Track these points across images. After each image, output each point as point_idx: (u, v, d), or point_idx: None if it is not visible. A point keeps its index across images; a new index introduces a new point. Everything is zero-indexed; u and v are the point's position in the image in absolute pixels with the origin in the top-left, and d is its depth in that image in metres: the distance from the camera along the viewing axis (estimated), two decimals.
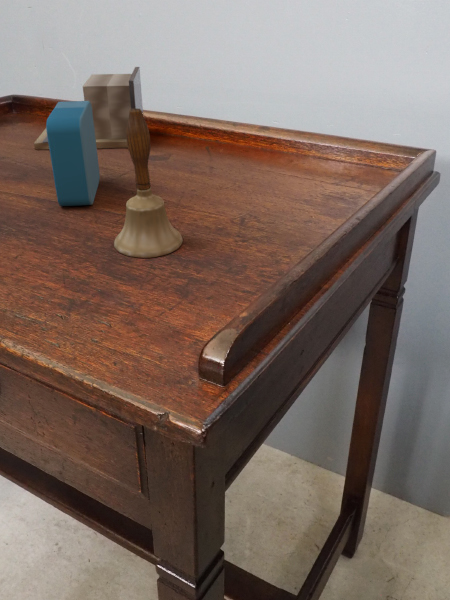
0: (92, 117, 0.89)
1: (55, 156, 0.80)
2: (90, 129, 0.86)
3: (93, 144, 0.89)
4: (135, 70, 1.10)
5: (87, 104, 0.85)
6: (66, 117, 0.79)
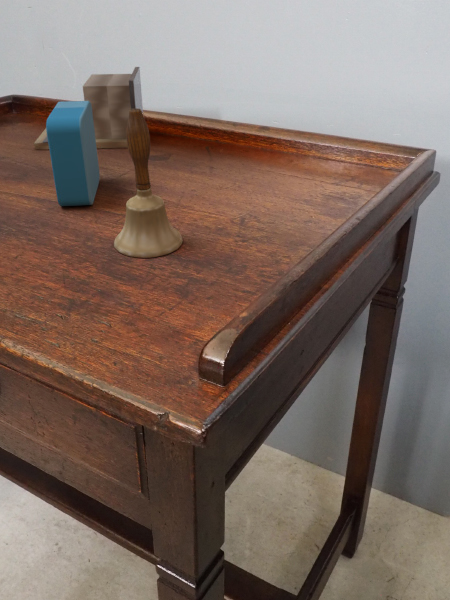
0: (92, 117, 0.89)
1: (55, 156, 0.80)
2: (90, 129, 0.86)
3: (93, 144, 0.89)
4: (135, 70, 1.10)
5: (87, 104, 0.85)
6: (66, 117, 0.79)
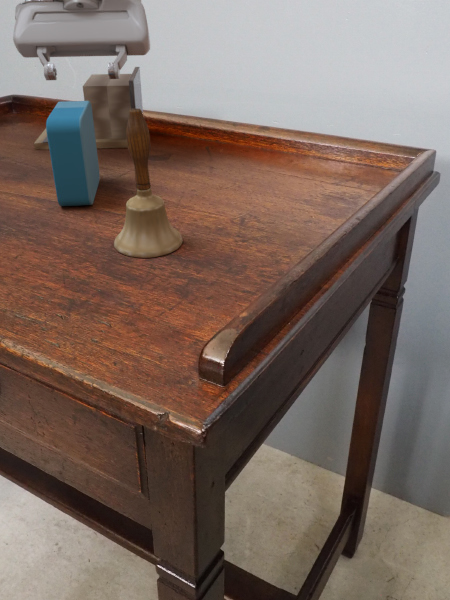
0: (92, 117, 0.89)
1: (55, 156, 0.80)
2: (90, 129, 0.86)
3: (93, 144, 0.88)
4: (135, 70, 1.10)
5: (87, 104, 0.85)
6: (66, 117, 0.79)
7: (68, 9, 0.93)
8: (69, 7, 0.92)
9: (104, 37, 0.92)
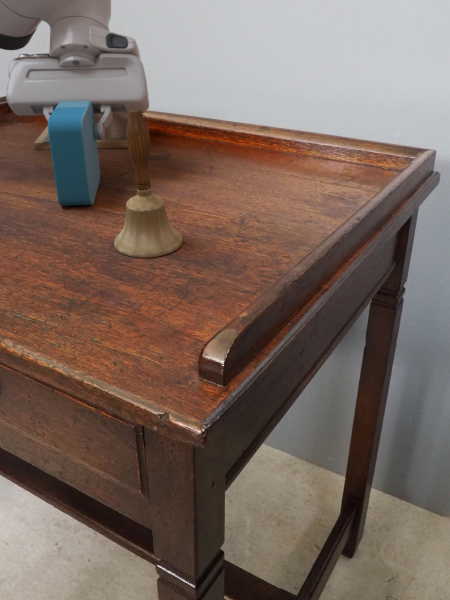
0: (93, 117, 0.89)
1: (56, 155, 0.80)
2: (91, 129, 0.86)
3: (94, 144, 0.89)
4: None
5: (89, 104, 0.85)
6: (68, 117, 0.79)
7: (64, 66, 0.89)
8: (65, 64, 0.88)
9: (101, 96, 0.88)
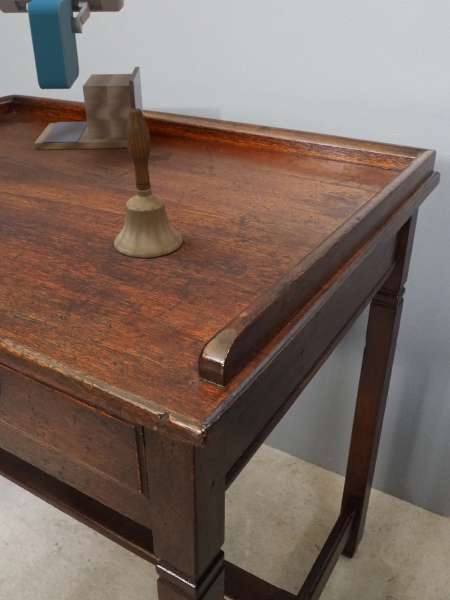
0: (72, 13, 0.97)
1: (35, 37, 0.88)
2: (69, 21, 0.95)
3: (72, 37, 0.97)
4: (135, 70, 1.10)
5: None
6: (46, 1, 0.88)
7: None
8: None
9: None
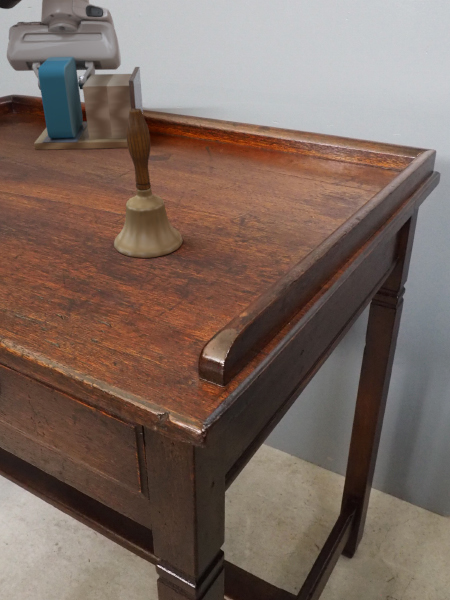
0: (76, 70, 1.12)
1: (45, 96, 1.03)
2: (74, 78, 1.09)
3: (76, 91, 1.12)
4: (135, 70, 1.10)
5: (71, 58, 1.09)
6: (54, 66, 1.03)
7: (52, 31, 1.12)
8: (53, 29, 1.12)
9: (82, 55, 1.11)
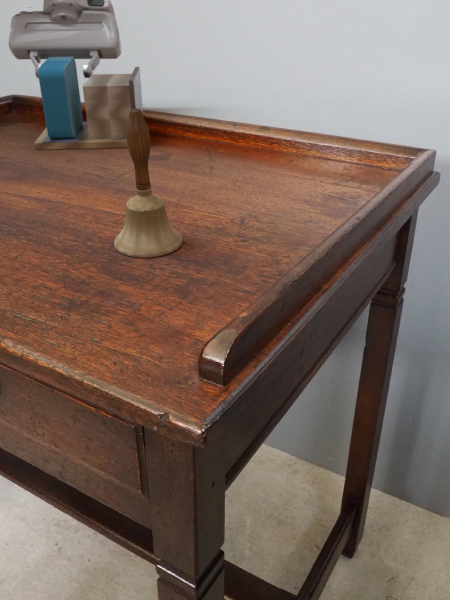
0: (76, 70, 1.12)
1: (45, 96, 1.03)
2: (74, 78, 1.09)
3: (76, 91, 1.12)
4: (135, 70, 1.10)
5: (71, 58, 1.09)
6: (54, 66, 1.03)
7: (54, 20, 1.13)
8: (55, 18, 1.13)
9: (82, 43, 1.12)
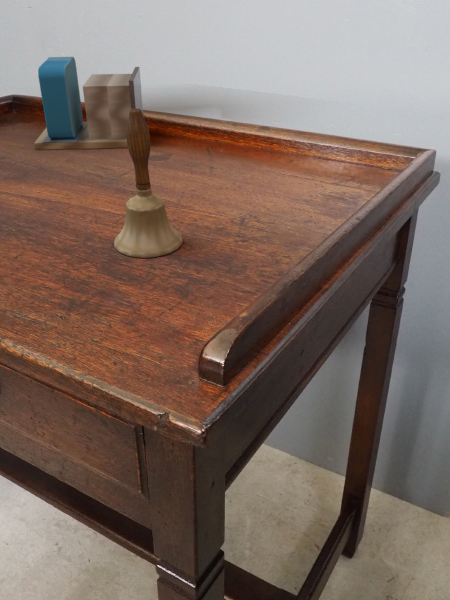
0: (76, 70, 1.12)
1: (45, 96, 1.03)
2: (74, 78, 1.09)
3: (76, 91, 1.12)
4: (135, 70, 1.10)
5: (71, 58, 1.09)
6: (53, 66, 1.03)
7: None
8: None
9: None
